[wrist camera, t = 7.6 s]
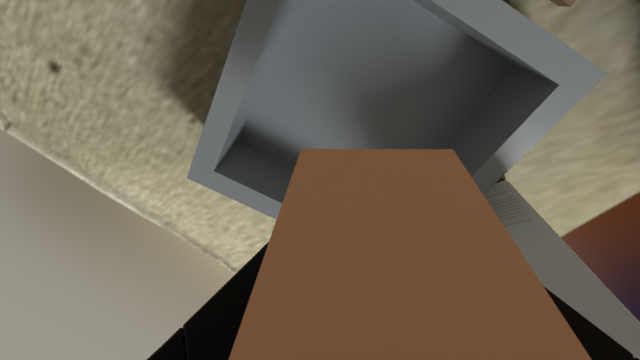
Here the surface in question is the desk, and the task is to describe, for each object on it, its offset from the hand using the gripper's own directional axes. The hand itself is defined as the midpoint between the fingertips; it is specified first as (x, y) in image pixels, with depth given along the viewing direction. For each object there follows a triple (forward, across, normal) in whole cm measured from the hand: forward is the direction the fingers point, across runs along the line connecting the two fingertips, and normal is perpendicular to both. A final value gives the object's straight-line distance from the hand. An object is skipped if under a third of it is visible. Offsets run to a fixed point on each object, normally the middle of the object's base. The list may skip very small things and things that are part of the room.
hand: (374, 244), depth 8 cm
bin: (+13, 0, 0) cm, 13 cm away
